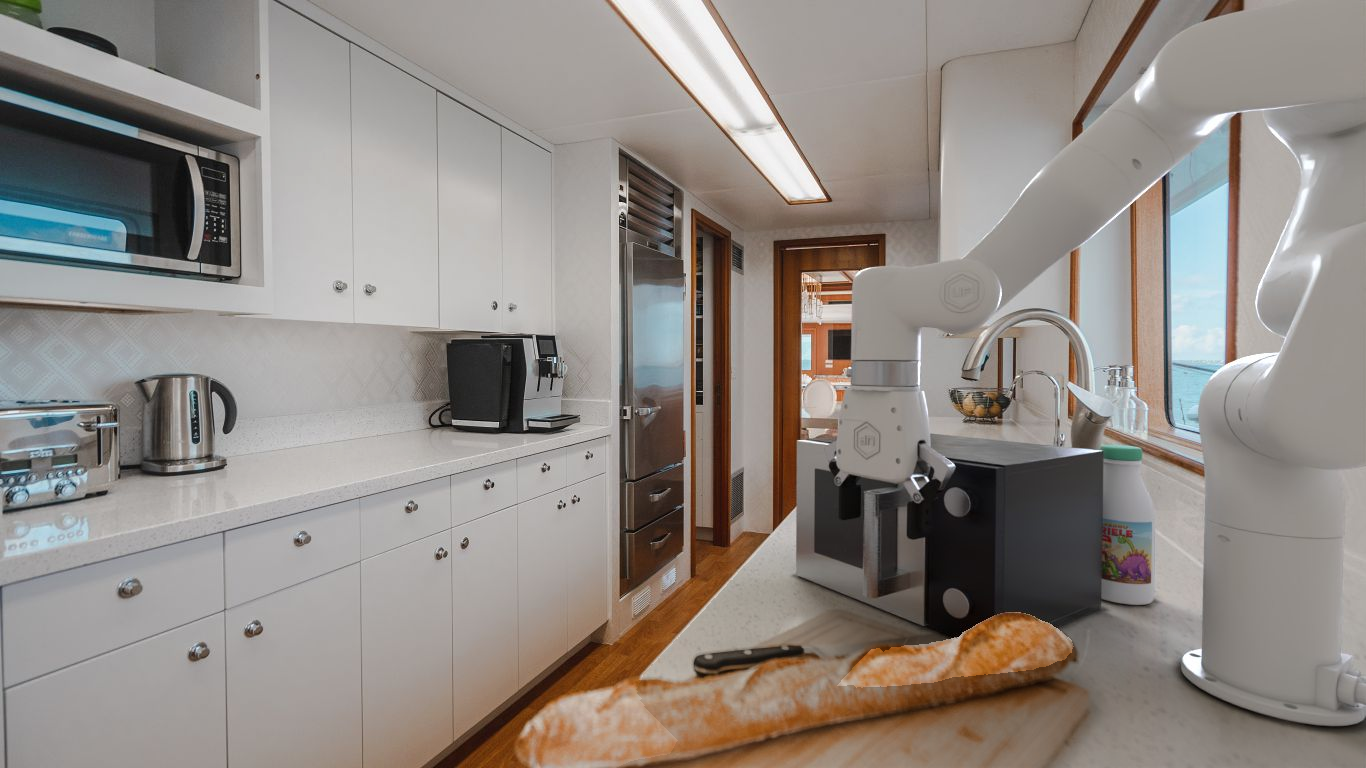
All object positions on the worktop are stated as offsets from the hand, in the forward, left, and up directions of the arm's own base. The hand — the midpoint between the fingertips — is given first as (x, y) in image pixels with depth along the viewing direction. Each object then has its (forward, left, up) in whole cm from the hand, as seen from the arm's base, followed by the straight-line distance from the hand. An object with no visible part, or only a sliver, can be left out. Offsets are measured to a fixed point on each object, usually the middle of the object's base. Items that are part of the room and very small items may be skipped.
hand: (882, 527), depth 71 cm
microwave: (+5, -17, -12) cm, 21 cm away
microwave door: (+9, -3, -12) cm, 15 cm away
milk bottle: (-9, -36, -12) cm, 39 cm away
